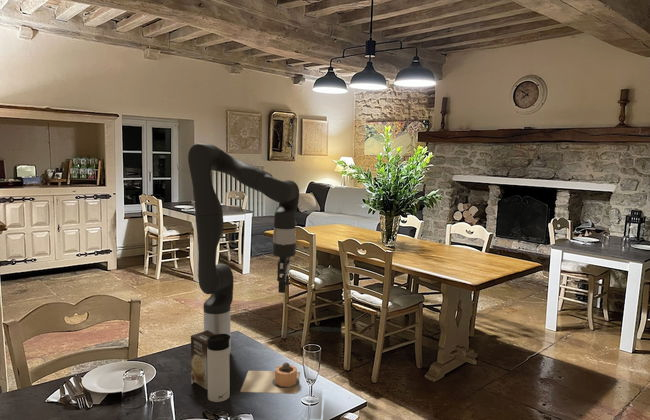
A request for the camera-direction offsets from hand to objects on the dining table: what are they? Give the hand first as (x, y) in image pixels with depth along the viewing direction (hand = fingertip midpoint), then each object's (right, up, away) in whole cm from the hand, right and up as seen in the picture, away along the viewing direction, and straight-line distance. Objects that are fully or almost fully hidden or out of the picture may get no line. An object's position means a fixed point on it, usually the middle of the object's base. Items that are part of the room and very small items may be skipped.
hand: (283, 288), depth 159 cm
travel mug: (-17, -30, -20) cm, 40 cm away
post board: (-3, -29, -10) cm, 31 cm away
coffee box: (-23, -29, -11) cm, 38 cm away
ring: (+2, -27, -10) cm, 29 cm away
